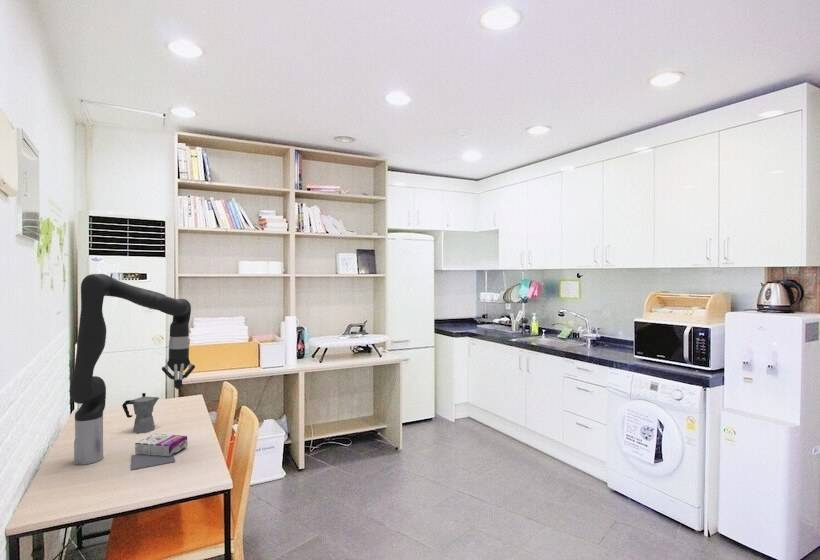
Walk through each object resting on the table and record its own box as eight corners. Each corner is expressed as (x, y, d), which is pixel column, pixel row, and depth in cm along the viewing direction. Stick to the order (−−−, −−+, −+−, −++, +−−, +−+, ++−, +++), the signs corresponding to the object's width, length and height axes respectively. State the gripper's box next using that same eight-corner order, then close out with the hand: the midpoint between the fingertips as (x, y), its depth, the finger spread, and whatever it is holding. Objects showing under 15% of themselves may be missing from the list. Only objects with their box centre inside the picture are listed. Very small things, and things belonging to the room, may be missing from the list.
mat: (130, 470, 171) (130, 469, 171) (131, 456, 185) (131, 455, 185) (174, 462, 179) (174, 461, 179) (172, 449, 193) (172, 448, 193)
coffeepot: (157, 425, 224) (157, 389, 224) (161, 429, 217) (161, 392, 217) (121, 431, 215) (120, 394, 215) (123, 437, 207) (123, 398, 207)
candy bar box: (187, 447, 194) (155, 444, 197) (187, 435, 194) (154, 432, 197) (169, 457, 183) (134, 454, 186) (168, 445, 183) (134, 442, 186)
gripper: (161, 349, 180) (160, 392, 180) (197, 347, 187) (196, 388, 187) (160, 346, 186) (159, 388, 187) (195, 344, 193) (194, 384, 193)
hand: (178, 388), depth 187 cm, fingers closed
